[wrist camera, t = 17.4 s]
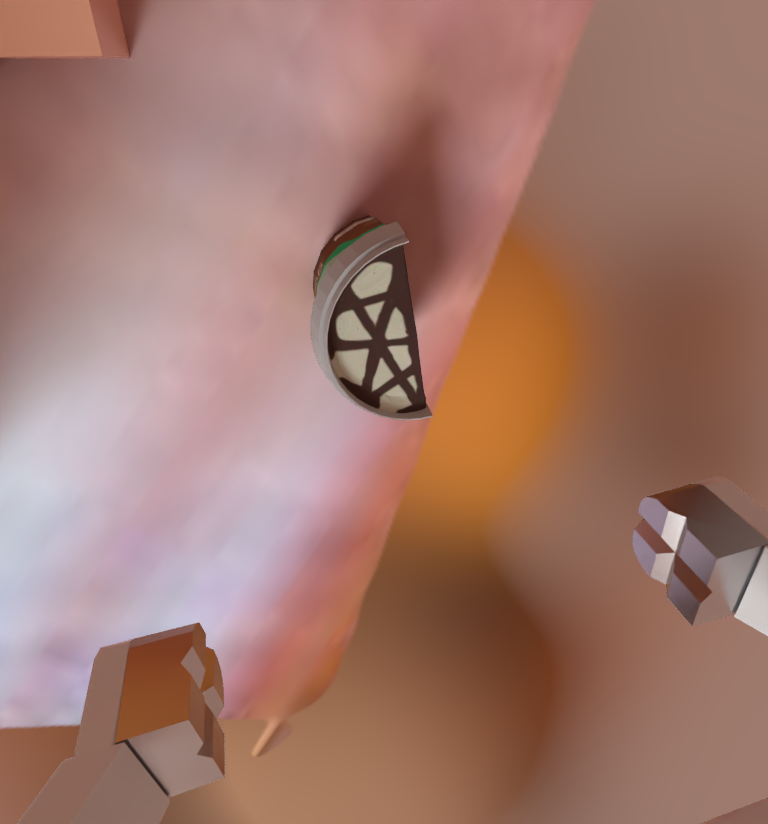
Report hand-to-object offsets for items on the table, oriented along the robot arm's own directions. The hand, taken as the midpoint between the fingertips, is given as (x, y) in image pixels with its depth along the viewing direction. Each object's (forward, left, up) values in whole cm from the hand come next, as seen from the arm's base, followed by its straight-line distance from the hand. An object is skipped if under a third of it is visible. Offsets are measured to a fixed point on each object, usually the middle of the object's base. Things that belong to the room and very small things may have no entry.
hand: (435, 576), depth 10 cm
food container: (+3, -6, -31) cm, 32 cm away
